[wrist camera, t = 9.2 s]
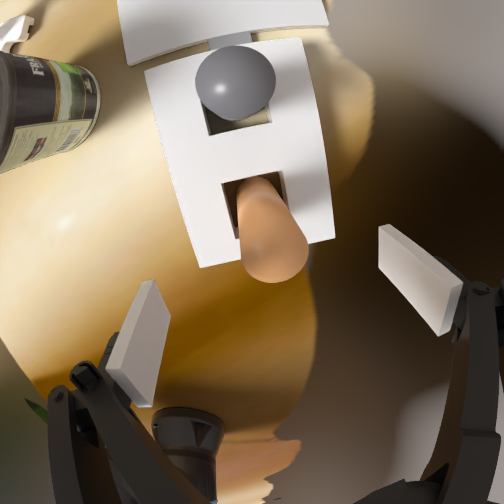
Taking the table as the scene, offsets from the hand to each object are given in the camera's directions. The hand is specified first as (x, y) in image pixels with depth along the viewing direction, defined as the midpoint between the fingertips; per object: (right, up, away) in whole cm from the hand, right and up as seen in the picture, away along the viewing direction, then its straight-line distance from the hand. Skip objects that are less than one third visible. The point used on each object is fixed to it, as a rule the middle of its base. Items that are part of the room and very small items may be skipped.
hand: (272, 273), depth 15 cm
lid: (-5, +27, +2) cm, 27 cm away
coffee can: (-22, +17, +6) cm, 28 cm away
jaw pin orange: (-1, +7, +13) cm, 14 cm away
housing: (-2, +11, +10) cm, 15 cm away
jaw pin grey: (-3, +15, +8) cm, 18 cm away
